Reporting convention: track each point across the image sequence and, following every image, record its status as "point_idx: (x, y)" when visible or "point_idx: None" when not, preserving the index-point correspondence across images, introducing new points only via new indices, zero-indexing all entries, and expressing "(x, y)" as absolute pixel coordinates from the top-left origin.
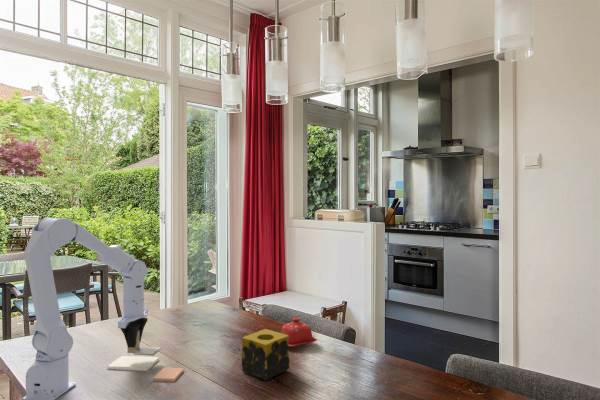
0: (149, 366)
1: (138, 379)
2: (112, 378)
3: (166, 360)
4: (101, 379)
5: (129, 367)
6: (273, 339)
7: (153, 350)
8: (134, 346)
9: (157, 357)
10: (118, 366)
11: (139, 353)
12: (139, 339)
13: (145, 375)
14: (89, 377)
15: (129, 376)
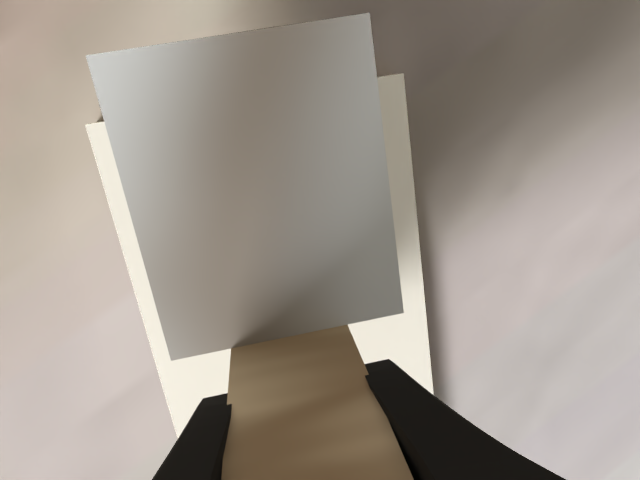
0: None
1: (593, 31)
2: (585, 275)
3: (74, 18)
4: (606, 341)
5: (419, 262)
6: None
7: (250, 94)
8: (390, 362)
9: (104, 134)
10: (426, 365)
11: (392, 233)
12: (235, 428)
13: (503, 17)
14: (578, 442)
15: (538, 161)
